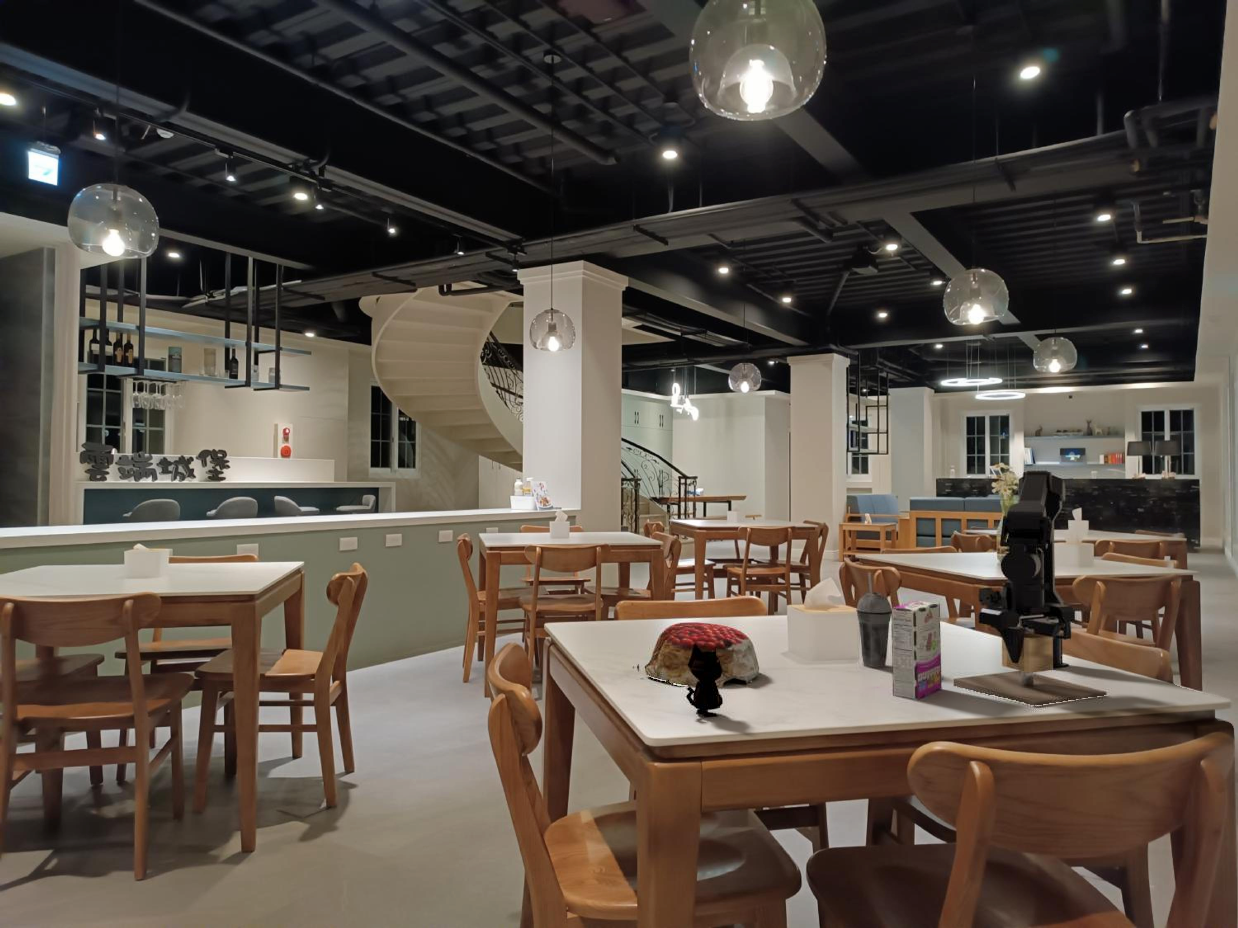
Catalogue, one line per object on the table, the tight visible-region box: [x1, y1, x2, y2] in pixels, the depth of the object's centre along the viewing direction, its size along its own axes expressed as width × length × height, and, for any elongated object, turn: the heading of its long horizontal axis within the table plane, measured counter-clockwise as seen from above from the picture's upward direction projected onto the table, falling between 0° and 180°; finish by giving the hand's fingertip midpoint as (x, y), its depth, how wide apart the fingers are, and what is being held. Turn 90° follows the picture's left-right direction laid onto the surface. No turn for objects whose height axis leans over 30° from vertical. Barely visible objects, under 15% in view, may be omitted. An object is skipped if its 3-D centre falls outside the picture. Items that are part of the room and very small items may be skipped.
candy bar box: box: [890, 600, 943, 701], centre depth 151 cm, size 11×5×16 cm, turn 136°
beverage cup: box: [856, 571, 892, 669], centre depth 173 cm, size 7×7×20 cm
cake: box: [632, 621, 760, 688], centre depth 166 cm, size 23×24×10 cm
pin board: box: [953, 670, 1108, 706], centre depth 151 cm, size 18×18×6 cm
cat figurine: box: [685, 644, 730, 718], centre depth 135 cm, size 7×7×12 cm
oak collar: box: [1001, 632, 1054, 673], centre depth 151 cm, size 6×6×6 cm
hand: (1027, 661), depth 151 cm, fingers closed on oak collar, 6 cm apart
